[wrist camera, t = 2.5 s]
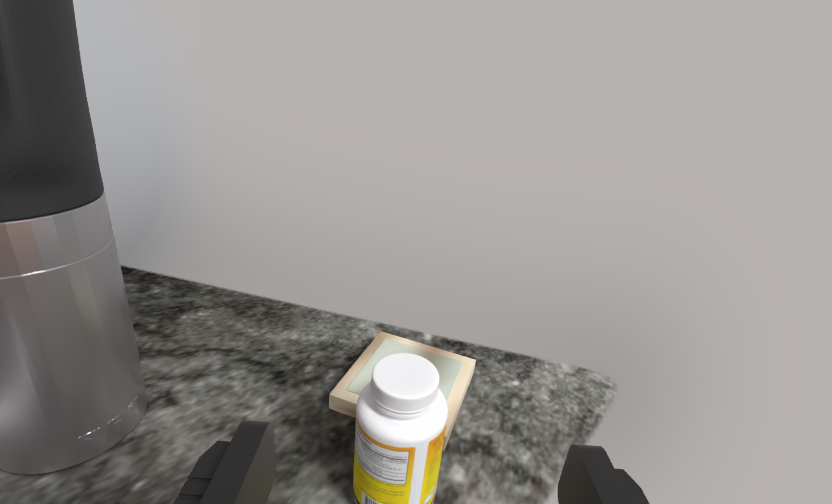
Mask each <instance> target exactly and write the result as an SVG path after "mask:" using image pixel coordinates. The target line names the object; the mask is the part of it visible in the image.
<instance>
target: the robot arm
mask: <svg viewBox="0 0 832 504" xmlns="http://www.w3.org/2000/svg"><path fill="white" fill-rule="evenodd" d="M147 403H148V400H147V393H146V388H145V384H144V379H143V374H142V369H141V364H140V358H139V353H138V348H137V344H136V339H135V334H134V329H133V324H132V320H131V315H130V310H129V305H128V300H127V296H126V291H125V286H124V281H123V276H122V272H121V267H120V262H119V258H118V252H117V248H116V243H115V238H114V235H113V230H112V225H111V220H110V215H109V210H108V206H107V201H106V196H105V192H104V187H103V182H102V178H101V173H100V168H99V163H98V158H97V151H96V144H95V139H94V134H93V128H92V123H91V118H90V113H89V107H88V102H87V97H86V91H85V85H84V78H83V72H82V66H81V59H80V51H79V44H78V36H77V29H76V21H75V14H74V7H73V0H0V469H2V470H3V471H6V472H10V473H15V474H42V473H49V472H54V471H58V470H61V469H65V468H69V467H72V466H75V465H77V464H80V463H82V462H85V461H87V460H90V459H92V458H93V457H95V456H97V455H99V454H101V453H103V452H105V451H107V450H108V449H110V448H111V447H113V446H114V445H115V444H117V443H118V442H120V441H121V440H122V439H123V438H125V437H126V436H127V435H128V434H129V433H130V432H131V431H132V430H133V429H134V428H135V427H136V426H137V424H138V423H139V422H140V421H141V419H142V417H143V415H144V413H145V412H146V408H147ZM274 474H275V446H274V429H273V424H272V422H258V421H242V422H241V423H240V425H239V427H238V429H237V430H236V432H235V434H234V436H233V438H232V440H231V442H227V441H217V442H216V443H215V444H214V445H212V446H211V447H210V448H209V449H208V450H207V451H206V452H205V453H204V454H203V455H202V456H201V457H200V458H199V459H198V461H197V463H196V465H195V466H194V468H193V470H192V472H191V473H190V475H189V477H188V481H186V482H185V484H184V486H183V487H182V489H181V491H180V493H179V496H178V498H176V500H175V501H174V503H173V504H266V502H267V499H268V496H269V493H270V490H271V487H272V484H273V479H274ZM558 502H559V504H649V502H648V500H647V498H646V497H645V495H644V493H643V491H642V489H641V488H640V486H638V484H637V483H636V482H635V481H634V480H633V479H632V478H631V477H630V476H629V475H628V474H627V473H626V472H625V471H624V470H623V469H614V467H613V465H612V463H611V461H610V459H609V457H608V455H607V453H606V451H605V450H604V449H603V448H602V447H601V446H589V445H575V444H573V445H571V446H570V448H569V451H568V454H567V457H566V460H565V464H564V467H563V470H562V473H561V476H560V480H559V483H558Z"/></svg>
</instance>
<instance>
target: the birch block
mask: <svg viewBox="0 0 832 504" xmlns="http://www.w3.org/2000/svg"><path fill="white" fill-rule="evenodd" d="M395 353H410V354H415V355H418V356H421V357H423V358H425V359H427V360H428V361H430V362H431V363H432V364H433V365H434V366H435V367H436V369H437V371H438V374H439V386H438V388H439V389H440V390H441V392H442V393H443V395H444V397H445V399H446V402H447V407H448V417H447V424H446V430H445V436H444V441H443V448H442V451H444V450H445V447H446V445H447V442H448V439H449V437H450V434H451V431H452V429H453V426H454V423H455V421H456V418H457V415H458V413H459V410H460V407H461V405H462V402H463V399H464V397H465V394H466V391H467V389H468V386H469V383H470V381H471V378H472V375H473V373H474V367H475V362H476V360H474V359H471V358H467V357H464V356H461V355H458V354H454V353H451V352H448V351H444V350H441V349H438V348H434V347H431V346H428V345H424V344H421V343H418V342H415V341H411V340H408V339H405V338H401V337H398V336H395V335H391V334H388V333H385V332H381V331H380V333H379V334H378V335H377V336H376V337H375V339H374V340H373V341H372V342H371V344H370V345H369V346H368V347H367V349H366V350H365V351H364V352H363V353H362V355H361V356H360V357H359V358H358V360H357V361H356V362H355V363H354V364H353V366H352V367H351V368H350V369H349V371H348V372H347V373H346V374H345V376H344V377H343V378H342V379H341V380H340V382H339V383H338V384H337V385H336V387H335V388H334V389H333V390H332V392H331V393H330V394H329V409H332V410H335V411H337V412H340V413H343V414H346V415H348V416H351V417H354V418H356V407H357V400H358V397H359V395H360V393H361V391H362V390H363V388H364V387H365V386H366V385H367V384H368V383H369V382H371V377H372V370H373V368H374V366H375V364H376V363H377V362H378V361H379V360H380V359H382V358H383V357H385V356H388V355H391V354H395Z"/></svg>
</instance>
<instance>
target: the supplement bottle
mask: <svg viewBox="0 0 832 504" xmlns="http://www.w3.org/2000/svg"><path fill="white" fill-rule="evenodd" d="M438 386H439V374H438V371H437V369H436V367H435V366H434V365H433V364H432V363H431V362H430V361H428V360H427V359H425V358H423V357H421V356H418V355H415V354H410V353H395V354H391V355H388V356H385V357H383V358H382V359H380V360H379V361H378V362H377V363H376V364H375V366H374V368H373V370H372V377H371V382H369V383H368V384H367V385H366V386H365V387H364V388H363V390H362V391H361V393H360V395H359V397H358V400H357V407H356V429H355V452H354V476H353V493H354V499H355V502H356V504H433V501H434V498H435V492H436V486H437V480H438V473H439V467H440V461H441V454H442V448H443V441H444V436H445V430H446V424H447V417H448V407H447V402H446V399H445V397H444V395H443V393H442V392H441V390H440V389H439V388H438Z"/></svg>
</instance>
